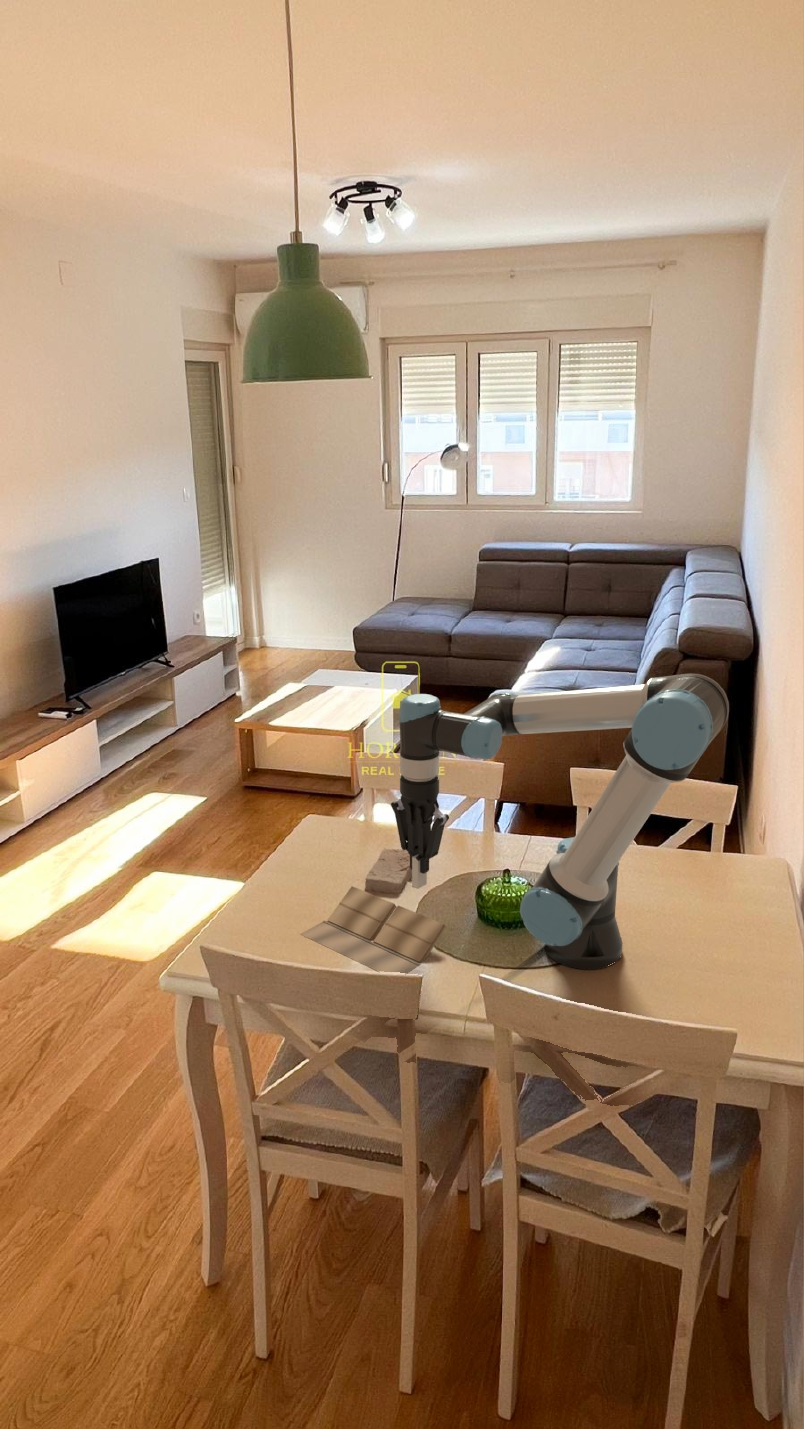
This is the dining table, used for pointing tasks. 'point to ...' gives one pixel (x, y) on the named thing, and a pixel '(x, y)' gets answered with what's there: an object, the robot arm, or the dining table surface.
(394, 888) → the brick
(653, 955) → the dining table surface
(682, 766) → the robot arm
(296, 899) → the dining table surface
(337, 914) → the plank
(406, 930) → the plank
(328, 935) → the floorboard
